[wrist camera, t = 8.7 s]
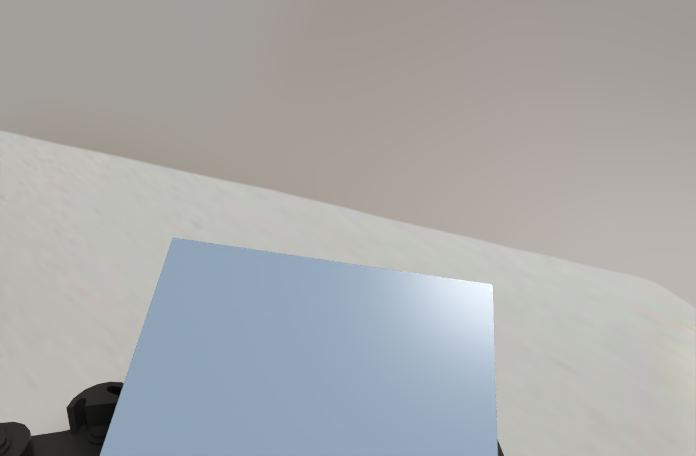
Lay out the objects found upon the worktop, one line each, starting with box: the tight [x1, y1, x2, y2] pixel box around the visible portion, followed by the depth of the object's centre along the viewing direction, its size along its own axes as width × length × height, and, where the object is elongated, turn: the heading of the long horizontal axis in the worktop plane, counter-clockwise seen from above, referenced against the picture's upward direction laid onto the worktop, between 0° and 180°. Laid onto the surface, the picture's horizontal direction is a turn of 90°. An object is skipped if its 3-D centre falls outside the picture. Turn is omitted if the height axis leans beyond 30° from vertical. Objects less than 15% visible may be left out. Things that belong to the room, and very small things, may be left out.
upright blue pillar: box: [100, 238, 498, 456], centre depth 11 cm, size 6×6×12 cm
